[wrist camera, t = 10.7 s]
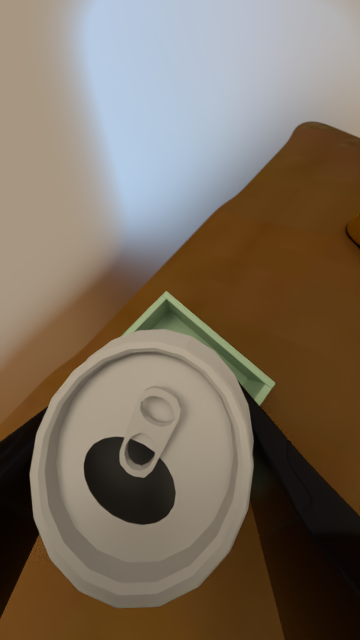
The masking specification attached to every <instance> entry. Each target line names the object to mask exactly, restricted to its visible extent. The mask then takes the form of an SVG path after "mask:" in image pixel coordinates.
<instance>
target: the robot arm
mask: <svg viewBox="0 0 360 640" xmlns="http://www.w3.org/2000/svg"><path fill="white" fill-rule="evenodd" d="M237 381H238V380H237ZM238 383H239V385H240V388H241V390H242V392H243V394H244V396H245V399H246V401H247V403H248V406H249V412H250V419H251V426H252V433H253V440H254V443H253V451H252V456H253V463H254V467H253V475H252V483H251V491H250V501H251V505H252V509H253V513H254V517H255V521H256V525H257V529H258V533H259V535H260V536H259V538H260V542H261V546H262V550H263V554H264V557H265V561H266V565H267V569H268V573H269V577H270V581H271V585H272V589H273V593H274V597H275V601H276V605H277V609H278V613H279V617H280V621H281V625H282V629H283V633H284V637H285V640H360V516H359V515H358V514H357V513H356V512H355V511H354V510H353V509H352V508H351V507H350V506H349V505H348V504H347V503H346V502H345V501H344V499H343V498H342V497H341V496H340V495H339V494H338V493H337V492H336V491H335V490H334V489H333V488H332V487H331V486H330V485H329V484H328V483H327V482H326V481H325V480H324V479H323V478H322V477H321V476H320V475H319V473H318V472H317V471H316V470H315V469H314V468H313V467H312V466H311V465H310V464H309V463H308V462H307V461H306V459H305V458H304V457H303V456H302V455H301V454H300V453H299V451H298V450H297V449H296V448H295V447H294V446H293V445H292V443H291V442H290V441H289V440H287V438H286V436H285V435H284V434H283V433H282V432H281V431H280V429H279V428H278V427H277V426H276V425H275V423H274V422H273V421H272V420H271V419H270V418H269V416H268V415H267V414H266V413H265V412H264V411H263V409H262V408H261V407H260V406H259V405H258V403H257V402H256V401H255V400H254V399H253V398H252V396H251V395H250V394H249V393H248V392H247V391H246V389H245V388H244V387H243V386H242V385H241V383H240V382H239V381H238ZM47 408H48V407H46V408H45V409H44V410H42V411H41V412H40V413H38V414H37V415H36V416H34V417H33V418H32V419H30V420H29V421H28V422H26V423H25V424H24V425H23V426H21V427H20V428H18V429H17V430H16V431H14V432H13V433H12V434H10V435H9V436H8V437H6V438H5V439H3V440H2V441H1V442H0V618H1V616H2V614H3V612H4V609H5V607H6V605H7V603H8V601H9V598H10V596H11V594H12V592H13V590H14V587H15V585H16V583H17V581H18V579H19V577H20V574H21V572H22V570H23V568H24V566H25V563H26V561H27V559H28V557H29V555H30V553H31V550H32V548H33V546H34V544H35V542H36V539H37V537H38V535H39V530H38V528H37V525H36V523H35V520H34V517H33V506H32V496H31V485H30V468H31V463H32V457H33V451H34V445H35V439H36V433H37V431H38V429H39V426H40V424H41V422H42V420H43V417H44V415H45V413H46V411H47Z"/></svg>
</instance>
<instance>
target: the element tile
mask: <svg viewBox="0 0 360 640" xmlns="http://www.w3.org/2000/svg"><path fill="white" fill-rule="evenodd" d="M347 232H348V234H349V236H350V237H351V238H352V239H353V240H354V241H355V242H356V243H357V244H358V245H359V246H360V213H359V214H358V215H357V216H356V217H354V218H353V219H352V220H351V221H350V222H349V224H348V226H347Z"/></svg>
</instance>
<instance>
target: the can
mask: <svg viewBox="0 0 360 640" xmlns="http://www.w3.org/2000/svg"><path fill="white" fill-rule="evenodd" d="M253 443H254V440H253V433H252V426H251V419H250V412H249V406H248V403H247V401H246V399H245V396H244V394H243V392H242V390H241V388H240V385H239V383H238V381H237V379H236V376H235V374H234V373H233V372H232V371H231V370H230V369H229V367H228V366H227V365H226V364H225V363H224V361H223V360H222V359H221V358H220V357H219V356H218V354H217V353H216V352H215V351H214V350H212V349H210V348H209V347H207V346H206V345H204V344H203V343H201V342H200V341H198V340H196V339H195V338H193V337H192V336H189V335H185V334H181V333H177V332H174V331H170V330H166V329H159V330H139V331H136V332H133V333H130V334H127V335H125V336H122V337H119V338H117V339H114V340H112V341H110V342H109V343H108V344H106V345H105V346H104V347H102V348H101V349H100V350H98V351H97V352H96V353H94V354H93V355H92V356H90V357H89V358H88V359H87V360H86V362H84V363H83V364H82V365H80V366H79V367H78V368H76V369H75V370H74V371H73V372H72V373H71V375H70V376H69V377H68V378H67V380H66V381H65V382H64V383H63V385H62V386H61V387H60V389H59V390H58V391H57V392H56V394H55V395H54V396H53V397H52V399H51V402H50V404H49V406H48V408H47V411H46V413H45V415H44V417H43V420H42V422H41V424H40V426H39V429H38V431H37V433H36V439H35V445H34V451H33V457H32V463H31V468H30V485H31V496H32V506H33V517H34V520H35V523H36V525H37V528H38V530H39V533H40V535H41V538H42V540H43V543H44V545H45V548H46V550H47V552H48V555H49V557H50V559H51V561H52V562H53V563H54V564H55V565H56V566H57V567H58V568H59V569H60V571H61V572H62V573H63V574H64V575H65V576H66V577H67V578H68V580H69V581H70V582H71V583H72V584H73V585H74V586H75V587H76V588H77V590H78V591H80V592H82V593H84V594H87V595H89V596H91V597H93V598H95V599H98V600H100V601H102V602H104V603H106V604H109V605H111V606H113V607H115V608H135V607H160V606H162V605H164V604H166V603H168V602H170V601H172V600H174V599H176V598H178V597H180V596H182V595H184V594H186V593H188V592H190V591H192V590H194V589H196V588H198V587H199V586H200V585H201V584H202V583H203V582H204V581H205V580H206V578H207V577H208V576H209V575H210V574H211V573H212V572H213V571H214V569H215V568H216V567H217V566H218V565H219V564H220V563H221V561H222V560H223V559H224V558H225V557H226V556H227V555H228V554H229V552H230V550H231V548H232V546H233V543H234V541H235V539H236V536H237V534H238V532H239V530H240V527H241V525H242V523H243V520H244V518H245V516H246V513H247V511H248V507H249V499H250V491H251V483H252V475H253V467H254V463H253V456H252V451H253Z"/></svg>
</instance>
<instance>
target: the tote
mask: <svg viewBox="0 0 360 640" xmlns="http://www.w3.org/2000/svg"><path fill="white" fill-rule="evenodd" d="M159 329H166V330H170V331H174V332H177V333H181V334H185V335H189V336H192V337H193V338H195V339H196V340H198V341H200V342H201V343H203V344H204V345H206V346H207V347H209V348H210V349H212V350H214V351H215V352H216V353H217V354H218V356H219V357H220V358H221V359H222V360H223V361H224V363H225V364H226V365H227V366H228V367H229V369H230V370H231V371H232V372H233V373H234V374H235V376H236V379H237V380H238V381H239V382H240V383H241V385H242V386H243V387H244V388H245V389H246V391H247V392H248V393H249V394H250V395H251V396H252V398H253V399H254V400H255V401H256V402H257V403H258V405H259V406H260V405H261V403H262V402H263V400H264V399H265V398H266V396H267V395H268V393H269V392H270V391H271V389H272V388H273V386H274V385H275V382H274V381H272V380H271V379H270V378H269V377H268V376H266V375H265V374H264V373H263V372H262V371H261V370H259V369H258V368H257V367H256V366H255V365H253V364H252V363H251V362H250V361H249V360H248V359H246V358H245V357H244V356H243V355H242V354H240V353H239V352H238V351H237V350H236V349H234V348H233V347H232V346H231V345H230V344H229V343H227V342H226V341H225V340H224V339H223V338H221V337H220V336H219V335H218V334H217V333H215V332H214V331H213V330H212V329H211V328H210V327H208V326H207V325H206V324H205V323H204V322H202V321H201V320H200V319H199V318H198V317H196V316H195V315H194V314H193V313H192V312H191V311H189V310H188V309H187V308H186V307H185V306H183V305H182V304H181V303H180V302H179V301H178V300H176V299H175V298H174V297H173V296H172V295H170V294H169V293H168V292H167V291H166V292H165V293H164V294H163V295H162V296H161V297H160V298H159V299H158V300H157V301H156V302H155V303H154V304H153V305H152V306H151V307H150V308H149V309H148V310H147V311H146V312H145V313H144V314H143V315H142V316H141V317H140V318H139V319H138V320H137V321H136V322H135V323H134V324H133V325H132V326H131V327H130V328H129V329H128V330H127V331H126V332H125V333H124V334H123V335H122V336H125V335H127V334H130V333H133V332H136V331H139V330H159ZM122 336H121V337H122Z"/></svg>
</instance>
